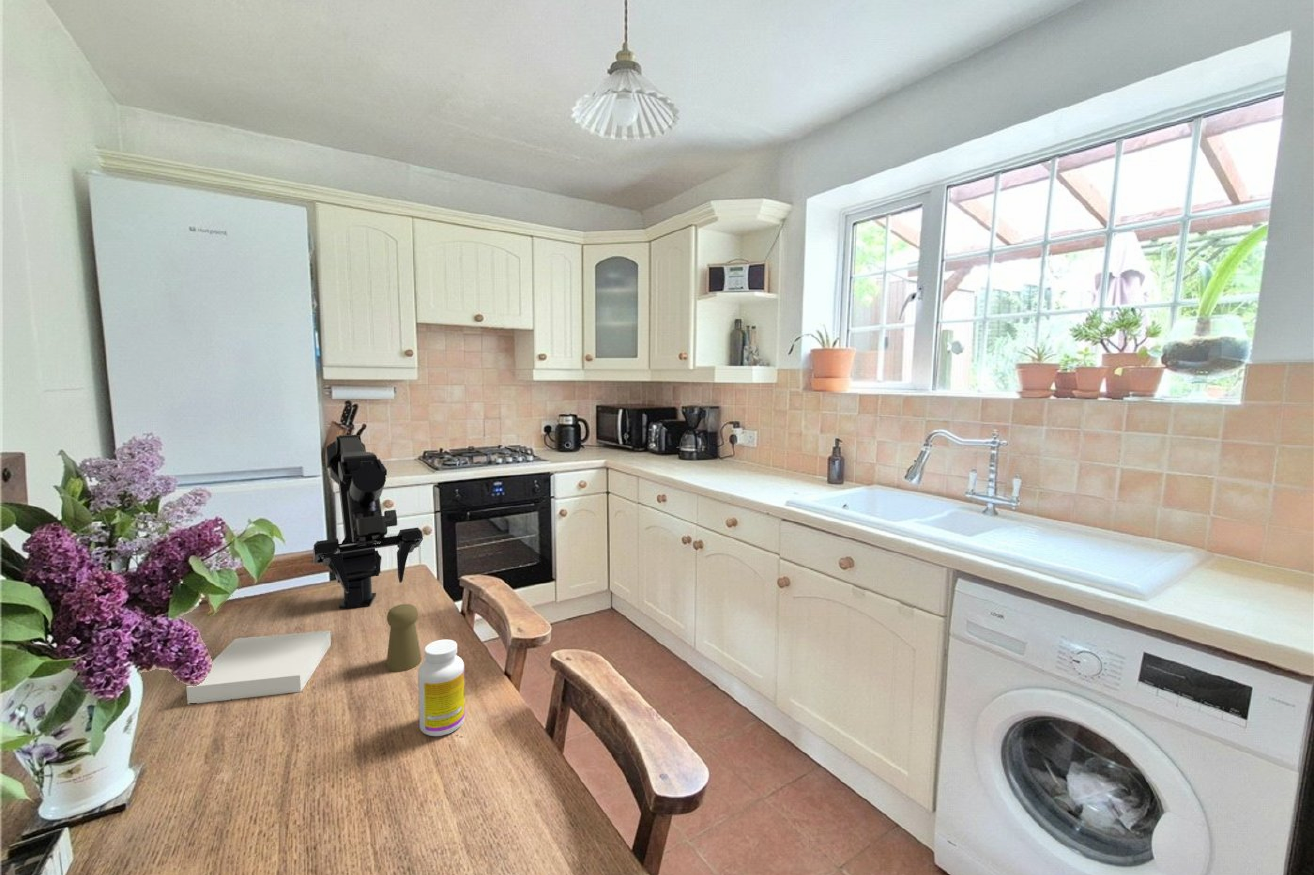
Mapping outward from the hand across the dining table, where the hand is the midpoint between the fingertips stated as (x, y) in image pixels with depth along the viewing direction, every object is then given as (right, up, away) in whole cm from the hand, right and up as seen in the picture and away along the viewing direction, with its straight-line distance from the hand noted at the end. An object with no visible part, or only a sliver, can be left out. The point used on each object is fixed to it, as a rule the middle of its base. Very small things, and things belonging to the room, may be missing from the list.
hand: (374, 587), depth 102 cm
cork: (+7, -14, -3) cm, 15 cm away
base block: (-16, -13, -7) cm, 22 cm away
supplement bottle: (+21, -16, -19) cm, 33 cm away
